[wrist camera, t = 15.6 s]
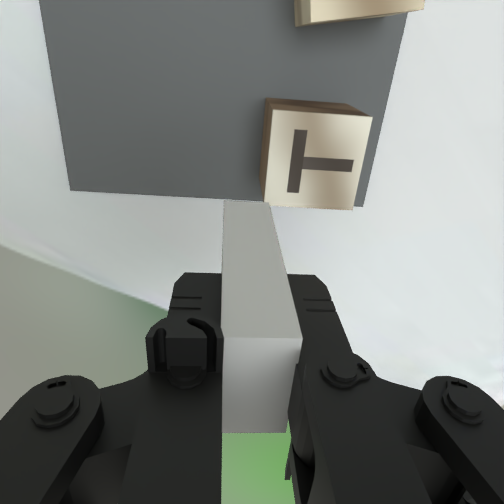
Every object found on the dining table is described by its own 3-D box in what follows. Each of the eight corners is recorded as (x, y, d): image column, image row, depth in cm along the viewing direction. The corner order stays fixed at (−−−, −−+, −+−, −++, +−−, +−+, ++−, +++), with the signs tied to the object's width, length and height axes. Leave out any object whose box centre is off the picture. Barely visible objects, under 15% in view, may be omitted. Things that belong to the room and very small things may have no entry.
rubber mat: (72, 188, 30) (70, 190, 30) (16, -156, 21) (12, -160, 20) (361, 204, 32) (362, 206, 32) (432, -107, 23) (435, -110, 22)
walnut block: (352, 210, 25) (332, 181, 31) (372, 117, 22) (346, 103, 28) (264, 205, 25) (258, 177, 30) (273, 109, 22) (265, 97, 27)
